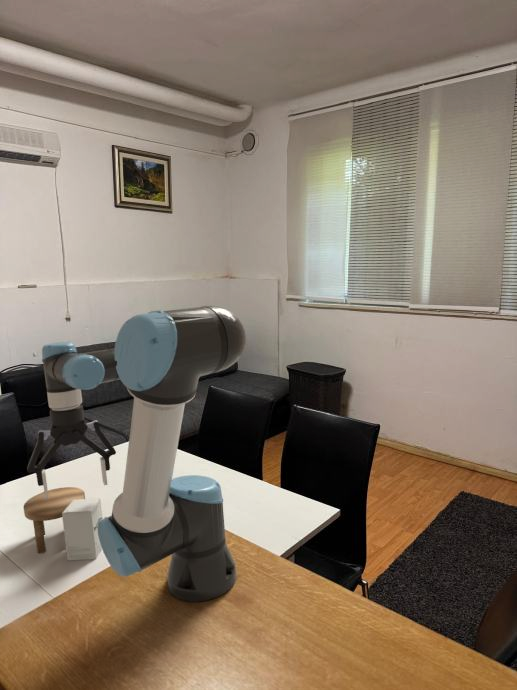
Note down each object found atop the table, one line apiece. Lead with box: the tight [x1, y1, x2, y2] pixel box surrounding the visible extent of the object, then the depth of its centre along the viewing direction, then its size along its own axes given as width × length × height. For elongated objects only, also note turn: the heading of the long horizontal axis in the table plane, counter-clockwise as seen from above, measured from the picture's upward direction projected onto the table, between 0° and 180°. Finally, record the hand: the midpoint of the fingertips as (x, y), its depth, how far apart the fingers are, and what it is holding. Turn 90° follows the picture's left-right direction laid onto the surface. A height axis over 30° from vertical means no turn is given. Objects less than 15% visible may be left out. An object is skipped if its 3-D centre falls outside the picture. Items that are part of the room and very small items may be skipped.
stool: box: [23, 486, 86, 555], centre depth 127 cm, size 15×15×11 cm
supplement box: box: [61, 497, 104, 561], centre depth 120 cm, size 7×7×13 cm
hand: (76, 490), depth 118 cm, fingers open, 13 cm apart
